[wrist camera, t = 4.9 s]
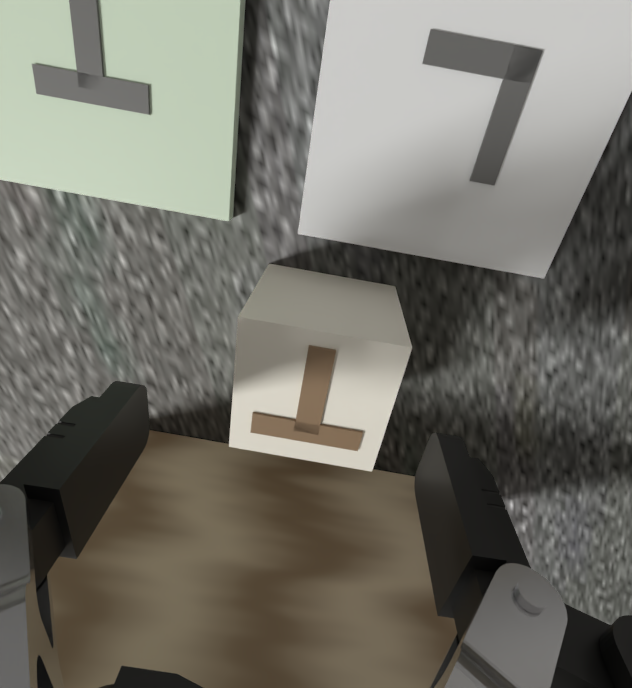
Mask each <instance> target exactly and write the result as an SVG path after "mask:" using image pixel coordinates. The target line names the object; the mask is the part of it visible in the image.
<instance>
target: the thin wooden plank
mask: <svg viewBox="0 0 632 688" xmlns="http://www.w3.org/2000/svg"><path fill="white" fill-rule="evenodd" d="M414 485H415V476H410V475H404V474H398V473H393V472H387V471H381V470H375V469H373V471H372V472H371V471H365V470H359V469H354V468H348V467H342V466H336V465H331V464H325V463H319V462H313V461H308V460H302V459H296V458H291V457H285V456H279V455H273V454H268V453H262V452H256V451H250V450H245V449H239V448H233V447H229V444H227V443H221V442H215V441H210V440H204V439H198V438H193V437H187V436H181V435H175V434H170V433H164V432H158V431H153V430H149V437H148V441H147V444H146V446H145V448H144V450H143V452H142V453H141V455H140V457H139V458H138V460H137V462H136V463H135V465H134V467H133V468H132V470H131V471H130V473H129V475H128V476H127V478H126V480H125V481H124V483H123V485H122V486H121V488H120V489H119V491H118V493H117V494H116V496H115V498H114V499H113V501H112V502H111V504H110V506H109V507H108V509H107V511H106V512H105V514H104V516H103V517H102V519H101V520H100V522H99V524H98V525H97V527H96V529H95V530H94V532H93V534H92V535H91V537H90V538H89V540H88V542H87V543H86V545H85V547H84V548H83V550H82V552H81V553H80V555H79V556H78V558H77V559H72V558H66V557H58V559H57V560H56V562H55V563H54V565H53V566H52V568H51V569H50V571H49V575H50V582H51V591H52V601H53V611H54V621H55V631H56V640H57V650H58V658H59V664H60V669H61V673H62V678H63V684H64V688H99V687H102V686H105V685H110V684H114V683H115V680H116V678H117V676H118V673H119V671H120V668H121V666H128V667H135V668H142V669H148V670H155V671H162V672H169V673H175V674H179V675H181V676H182V677H184V678H186V679H188V680H190V681H192V682H194V683H196V684H198V685H200V686H201V687H203V688H429V686H430V684H431V682H432V680H433V678H434V676H435V674H436V672H437V670H438V668H439V666H440V664H441V662H442V660H443V658H444V656H445V654H446V652H447V650H448V648H449V646H450V644H451V642H452V640H453V638H454V636H455V635H456V633H457V630H456V625H455V621H454V618H449V617H442V616H438V615H437V610H436V604H435V599H434V594H433V588H432V583H431V578H430V572H429V567H428V561H427V556H426V551H425V545H424V540H423V534H422V529H421V524H420V518H419V513H418V507H417V502H416V497H415V488H414Z"/></svg>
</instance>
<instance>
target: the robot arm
mask: <svg viewBox="0 0 632 688" xmlns="http://www.w3.org/2000/svg"><path fill="white" fill-rule="evenodd" d="M149 430H150V425H149V412H148V399H147V390H146V387H145V386H144V385H139V384H132V383H126V382H120V381H115V382H113V383H112V384H111V385H110V386H109V387H108V388H107V390H106V391H105V392H104V393H103V394H102V395H101V396H100V398H99V397H93V396H91V397H89V398H87V399H86V400H84V401H82V402H80V403H79V404H77V405H75V406H73V407H72V408H71V409H70V410H69V411H68V412H67V413H66V414H65V415H64V416H63V417H62V418H61V419H60V420H59V423H58V424H56V425H55V426H54V427H53V428H52V429H51V430H50V431H49V432H48V433H47V436H44V437H43V438H42V439H41V440H40V441H39V442H38V443H37V445H36V446H35V447H34V448H33V449H32V450H31V451H30V452H29V453H28V454H27V455H26V456H25V457H24V458H23V459H22V460H21V461H20V462H19V463H18V464H17V465H16V467H15V468H14V469H13V470H12V471H11V472H10V473H9V474H8V475H7V476H6V477H5V478H4V479H3V480H2V481H1V482H0V688H64V684H63V678H62V673H61V669H60V664H59V658H58V650H57V640H56V631H55V621H54V611H53V601H52V591H51V582H50V575H49V571H50V569H51V568H52V566H53V565H54V563H55V562H56V560H57V559H58V557H66V558H72V559H77V558H78V556H79V555H80V553H81V552H82V550H83V548H84V547H85V545H86V543H87V542H88V540H89V538H90V537H91V535H92V534H93V532H94V530H95V529H96V527H97V525H98V524H99V522H100V520H101V519H102V517H103V516H104V514H105V512H106V511H107V509H108V507H109V506H110V504H111V502H112V501H113V499H114V498H115V496H116V494H117V493H118V491H119V489H120V488H121V486H122V485H123V483H124V481H125V480H126V478H127V476H128V475H129V473H130V471H131V470H132V468H133V467H134V465H135V463H136V462H137V460H138V458H139V457H140V455H141V453H142V452H143V450H144V448H145V446H146V444H147V441H148V437H149ZM414 488H415V497H416V502H417V507H418V513H419V518H420V524H421V529H422V534H423V540H424V545H425V551H426V556H427V561H428V567H429V572H430V578H431V583H432V588H433V594H434V599H435V604H436V610H437V615H438V616H442V617H449V618H454V621H455V625H456V630H457V633H456V635H455V636H454V638H453V640H452V642H451V644H450V646H449V648H448V650H447V652H446V654H445V656H444V658H443V660H442V662H441V664H440V666H439V668H438V670H437V672H436V674H435V676H434V678H433V680H432V682H431V684H430V686H429V688H632V616H629V615H628V616H622V617H619V618H618V619H617V620H616V621H615V622H614V623H613V624H612V625H609V624H606V623H604V622H602V621H600V620H598V619H596V618H594V617H591V616H589V615H587V614H585V613H583V612H581V611H578V610H576V609H574V608H572V607H570V606H568V605H566V604H565V603H564V602H563V600H562V598H561V596H560V595H559V593H558V592H557V590H556V589H555V588H554V587H553V585H552V584H551V583H550V582H549V581H548V580H547V579H546V578H545V577H543V576H542V575H541V574H539V573H538V572H536V571H535V570H533V569H531V567H530V565H529V563H528V560H527V558H526V556H525V553H524V551H523V548H522V546H521V544H520V541H519V539H518V536H517V534H516V531H515V529H514V527H513V524H512V522H511V519H510V517H509V514H508V512H507V510H505V505H504V502H503V500H502V498H501V495H499V490H498V488H497V485H496V483H495V481H494V478H493V476H492V474H491V473H490V472H489V471H488V469H487V468H486V467H485V466H484V465H483V463H482V462H481V461H480V460H479V459H477V458H470V457H469V454H468V452H467V449H466V446H465V444H464V441H463V439H462V438H461V437H458V436H452V435H446V434H439V433H432V434H431V436H430V438H429V440H428V443H427V445H426V448H425V450H424V453H423V456H422V458H421V461H420V463H419V466H418V468H417V471H416V475H415V485H414ZM99 688H203V687H201V686H200V685H198V684H196V683H194V682H192V681H190V680H188V679H186V678H184V677H182V676H181V675H179V674H175V673H169V672H162V671H155V670H148V669H142V668H135V667H128V666H121V668H120V671H119V673H118V676H117V678H116V680H115V683H114V684H110V685H105V686H102V687H99Z"/></svg>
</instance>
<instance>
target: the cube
mask: <svg viewBox="0 0 632 688" xmlns="http://www.w3.org/2000/svg"><path fill="white" fill-rule="evenodd" d="M411 350H412V345H411V341H410V338H409V334H408V330H407V327H406V323H405V320H404V316H403V313H402V309H401V305H400V302H399V298H398V295H397V291H396V287H395V286H391V285H386V284H380V283H374V282H369V281H363V280H358V279H352V278H347V277H341V276H336V275H330V274H325V273H319V272H314V271H308V270H303V269H297V268H292V267H286V266H280V265H275V264H269V265H268V266H267V268H266V270H265V271H264V273H263V275H262V277H261V278H260V280H259V282H258V283H257V285H256V287H255V289H254V290H253V292H252V294H251V296H250V297H249V299H248V301H247V302H246V304H245V306H244V308H243V309H242V311H241V313H240V314H239V316H238V327H237V340H236V354H235V368H234V382H233V396H232V410H231V424H230V437H229V447H233V448H239V449H245V450H250V451H256V452H262V453H268V454H273V455H279V456H285V457H291V458H296V459H302V460H308V461H313V462H319V463H325V464H331V465H336V466H342V467H348V468H354V469H359V470H365V471H371V472H372V471H373V467H374V464H375V461H376V458H377V455H378V452H379V449H380V446H381V443H382V440H383V437H384V434H385V430H386V427H387V424H388V421H389V418H390V415H391V412H392V409H393V406H394V403H395V400H396V397H397V393H398V390H399V387H400V384H401V381H402V378H403V375H404V372H405V369H406V366H407V363H408V360H409V356H410V353H411Z"/></svg>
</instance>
